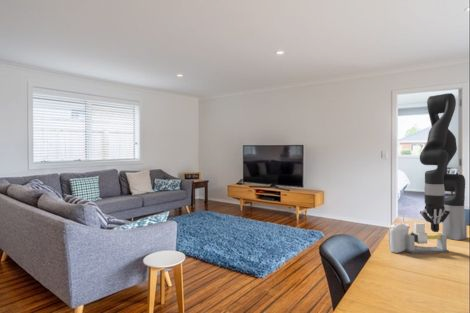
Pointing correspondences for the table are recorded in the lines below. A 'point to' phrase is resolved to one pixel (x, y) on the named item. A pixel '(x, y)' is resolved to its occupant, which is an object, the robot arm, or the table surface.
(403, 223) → the smoothie
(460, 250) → the table surface
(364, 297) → the table surface
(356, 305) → the table surface
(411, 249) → the slider rail
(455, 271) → the table surface
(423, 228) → the white stepped block
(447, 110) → the robot arm
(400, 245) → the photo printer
